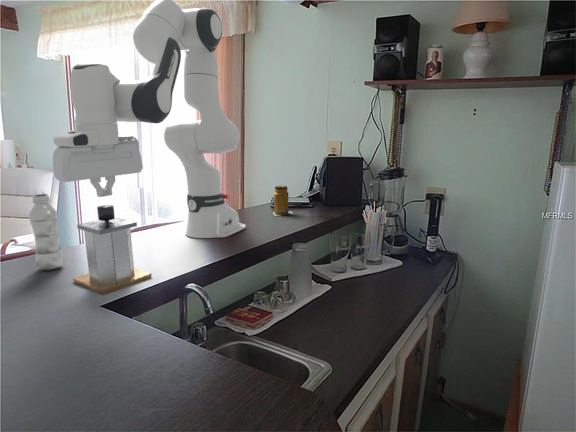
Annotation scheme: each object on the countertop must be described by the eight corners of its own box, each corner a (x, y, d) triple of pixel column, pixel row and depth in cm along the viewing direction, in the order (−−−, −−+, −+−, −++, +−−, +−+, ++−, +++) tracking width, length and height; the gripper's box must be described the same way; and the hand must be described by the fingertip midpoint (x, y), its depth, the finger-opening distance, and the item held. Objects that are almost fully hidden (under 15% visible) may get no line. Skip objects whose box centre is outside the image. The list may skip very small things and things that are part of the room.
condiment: (272, 212, 176) (272, 185, 174) (291, 211, 178) (291, 184, 175) (274, 216, 169) (274, 188, 167) (294, 215, 171) (294, 187, 168)
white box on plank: (121, 267, 110) (116, 215, 106) (151, 277, 102) (146, 221, 99) (73, 282, 99) (66, 225, 96) (103, 294, 92) (96, 233, 89)
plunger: (116, 267, 105) (110, 202, 101) (132, 272, 101) (125, 205, 97) (92, 274, 100) (84, 207, 96) (107, 280, 96) (99, 210, 92)
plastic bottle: (53, 273, 105) (42, 197, 100) (30, 271, 106) (19, 197, 102) (70, 265, 111) (61, 193, 107) (49, 263, 112) (39, 192, 108)
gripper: (129, 134, 103) (135, 188, 106) (45, 138, 87) (54, 201, 90) (145, 135, 99) (150, 190, 103) (60, 139, 83) (69, 204, 87)
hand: (104, 195), depth 96 cm, fingers closed
